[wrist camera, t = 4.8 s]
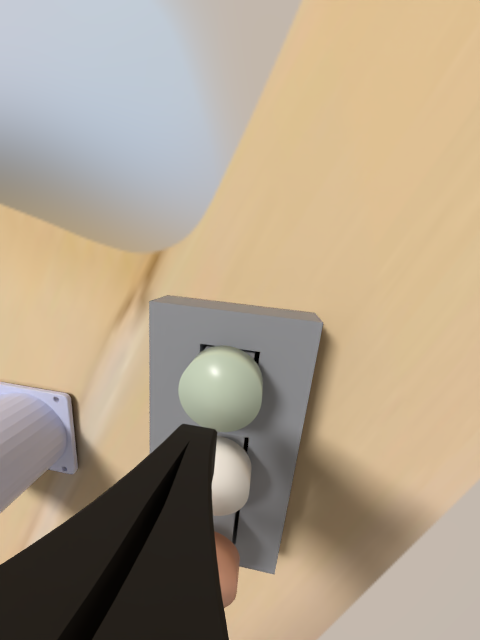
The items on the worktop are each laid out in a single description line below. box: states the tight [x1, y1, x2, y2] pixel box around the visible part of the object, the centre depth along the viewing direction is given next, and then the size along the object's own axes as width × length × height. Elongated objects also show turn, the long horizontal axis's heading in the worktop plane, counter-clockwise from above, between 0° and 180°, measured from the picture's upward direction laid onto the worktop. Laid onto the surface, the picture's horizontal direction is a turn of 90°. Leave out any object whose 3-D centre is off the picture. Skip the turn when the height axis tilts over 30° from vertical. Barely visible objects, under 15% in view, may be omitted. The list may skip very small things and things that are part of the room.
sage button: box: [178, 345, 263, 432], centre depth 14 cm, size 4×4×4 cm
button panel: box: [149, 295, 323, 574], centre depth 17 cm, size 20×10×2 cm, turn 174°
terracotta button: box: [213, 512, 240, 608], centre depth 16 cm, size 4×4×4 cm
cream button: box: [212, 432, 251, 516], centre depth 16 cm, size 4×4×4 cm
